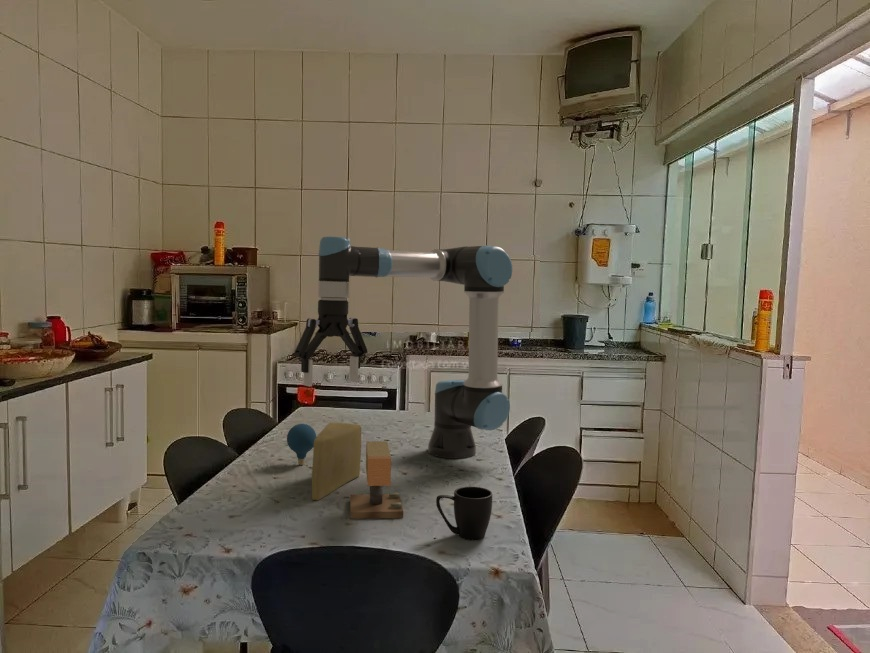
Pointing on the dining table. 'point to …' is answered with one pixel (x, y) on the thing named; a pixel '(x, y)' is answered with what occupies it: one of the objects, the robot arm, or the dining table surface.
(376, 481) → the two-tone wooden block
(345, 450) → the cheese
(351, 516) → the wooden base plate
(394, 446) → the dining table surface
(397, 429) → the dining table surface
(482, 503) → the mug
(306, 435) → the light bulb
